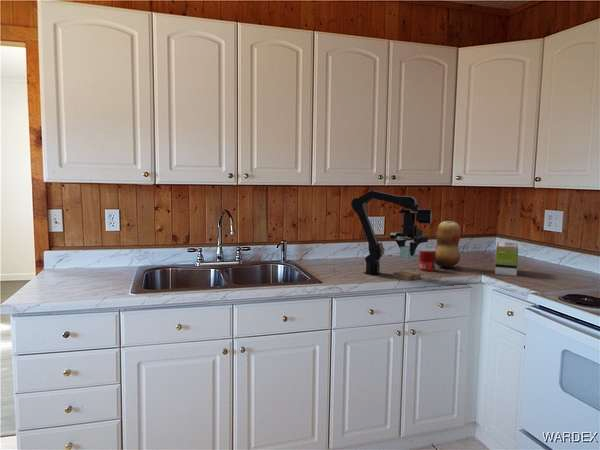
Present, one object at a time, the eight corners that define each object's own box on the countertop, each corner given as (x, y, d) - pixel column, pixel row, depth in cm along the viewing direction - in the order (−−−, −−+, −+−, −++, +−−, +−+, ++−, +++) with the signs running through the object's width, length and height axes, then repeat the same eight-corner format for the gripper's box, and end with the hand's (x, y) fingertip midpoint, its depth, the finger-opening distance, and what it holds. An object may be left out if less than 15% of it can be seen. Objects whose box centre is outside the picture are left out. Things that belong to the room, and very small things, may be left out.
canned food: (435, 272, 211) (436, 250, 210) (419, 271, 213) (420, 250, 212) (433, 268, 219) (434, 248, 218) (418, 268, 220) (419, 247, 219)
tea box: (495, 268, 221) (496, 241, 220) (516, 270, 217) (517, 242, 215) (494, 274, 208) (496, 245, 206) (516, 276, 203) (518, 246, 202)
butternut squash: (445, 271, 213) (447, 223, 211) (427, 266, 226) (429, 220, 223) (465, 268, 219) (467, 222, 216) (447, 264, 231) (449, 219, 229)
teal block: (408, 258, 195) (408, 248, 194) (400, 256, 199) (400, 246, 198) (415, 257, 198) (415, 247, 197) (406, 255, 202) (407, 245, 201)
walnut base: (408, 280, 193) (408, 276, 193) (393, 276, 200) (393, 272, 200) (420, 277, 198) (420, 273, 198) (405, 274, 205) (405, 270, 205)
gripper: (436, 223, 194) (434, 256, 195) (404, 220, 209) (403, 250, 210) (421, 225, 187) (419, 258, 189) (389, 221, 202) (388, 252, 204)
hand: (407, 255), depth 198 cm, fingers closed on teal block, 5 cm apart
